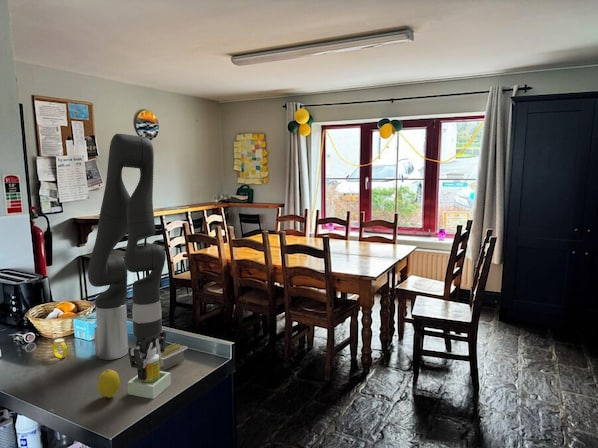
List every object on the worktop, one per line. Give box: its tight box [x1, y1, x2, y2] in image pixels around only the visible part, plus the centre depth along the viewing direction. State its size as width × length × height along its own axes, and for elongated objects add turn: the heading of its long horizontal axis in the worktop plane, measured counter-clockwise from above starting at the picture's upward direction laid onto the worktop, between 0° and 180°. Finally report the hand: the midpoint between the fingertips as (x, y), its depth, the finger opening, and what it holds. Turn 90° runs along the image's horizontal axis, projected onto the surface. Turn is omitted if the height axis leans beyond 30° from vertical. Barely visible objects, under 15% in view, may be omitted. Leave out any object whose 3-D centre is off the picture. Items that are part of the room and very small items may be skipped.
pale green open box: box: [126, 370, 172, 400], centre depth 116 cm, size 8×8×4 cm
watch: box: [51, 338, 69, 360], centre depth 135 cm, size 6×3×6 cm, turn 64°
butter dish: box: [160, 342, 188, 371], centre depth 131 cm, size 12×18×7 cm, turn 147°
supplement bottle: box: [140, 347, 161, 385], centre depth 115 cm, size 5×5×10 cm
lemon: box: [96, 368, 121, 399], centre depth 111 cm, size 6×6×8 cm
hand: (149, 374), depth 116 cm, fingers closed on supplement bottle, 5 cm apart
